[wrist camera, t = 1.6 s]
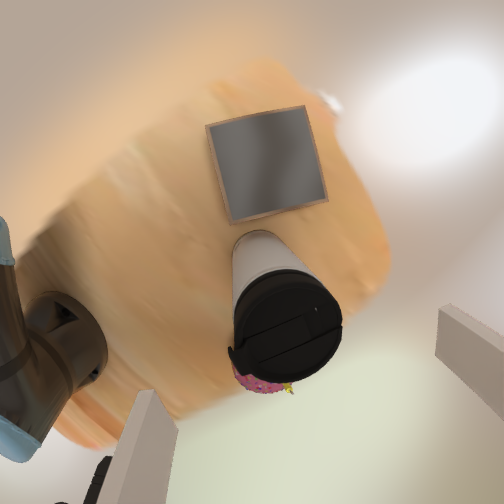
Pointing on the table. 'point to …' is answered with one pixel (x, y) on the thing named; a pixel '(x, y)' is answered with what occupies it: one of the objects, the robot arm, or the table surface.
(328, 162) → the table surface
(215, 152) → the walnut stand
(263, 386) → the cupcake
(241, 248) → the travel mug
